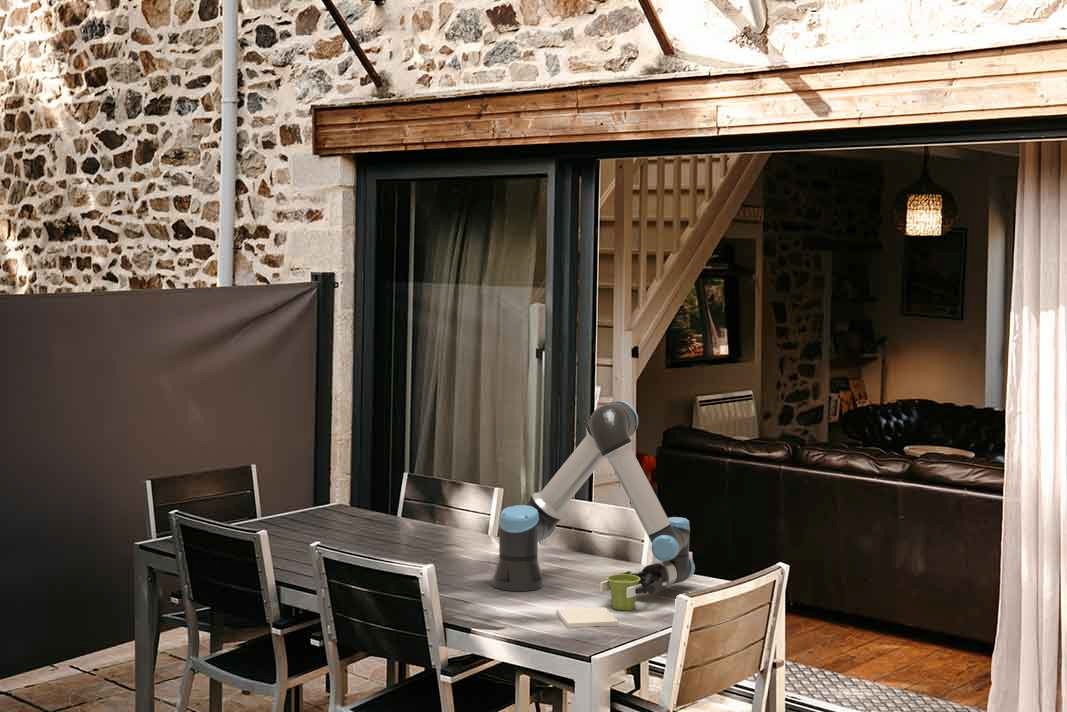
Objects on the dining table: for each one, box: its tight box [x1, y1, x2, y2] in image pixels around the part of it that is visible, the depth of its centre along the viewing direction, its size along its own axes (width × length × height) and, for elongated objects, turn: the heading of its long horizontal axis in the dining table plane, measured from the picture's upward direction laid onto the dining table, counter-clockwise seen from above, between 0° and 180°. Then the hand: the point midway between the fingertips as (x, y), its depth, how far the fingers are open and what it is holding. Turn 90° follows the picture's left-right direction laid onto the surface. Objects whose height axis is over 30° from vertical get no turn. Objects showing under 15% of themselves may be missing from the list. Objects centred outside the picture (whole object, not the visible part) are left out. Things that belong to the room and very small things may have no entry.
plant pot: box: [606, 573, 640, 611], centre depth 353 cm, size 9×9×9 cm
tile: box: [556, 607, 619, 629], centre depth 341 cm, size 14×14×1 cm
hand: (614, 590), depth 349 cm, fingers closed on plant pot, 8 cm apart
